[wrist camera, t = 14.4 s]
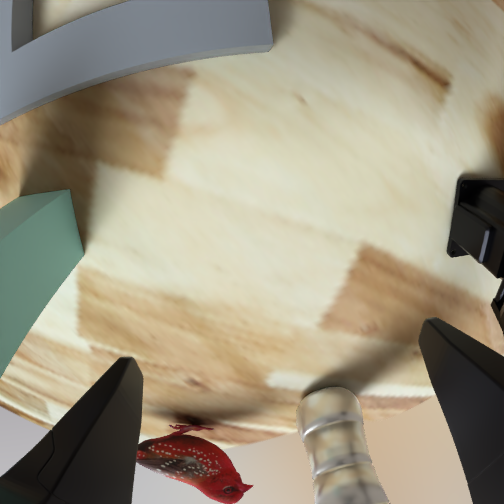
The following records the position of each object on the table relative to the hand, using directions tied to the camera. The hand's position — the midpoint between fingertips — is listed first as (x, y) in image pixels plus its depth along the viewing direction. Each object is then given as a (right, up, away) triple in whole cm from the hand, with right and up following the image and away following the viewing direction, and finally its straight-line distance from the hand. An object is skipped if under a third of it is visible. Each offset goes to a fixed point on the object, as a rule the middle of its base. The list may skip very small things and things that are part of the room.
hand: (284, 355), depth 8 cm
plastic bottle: (+7, -12, +21) cm, 25 cm away
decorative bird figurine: (-10, -17, +22) cm, 30 cm away
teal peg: (-16, +5, +10) cm, 19 cm away
